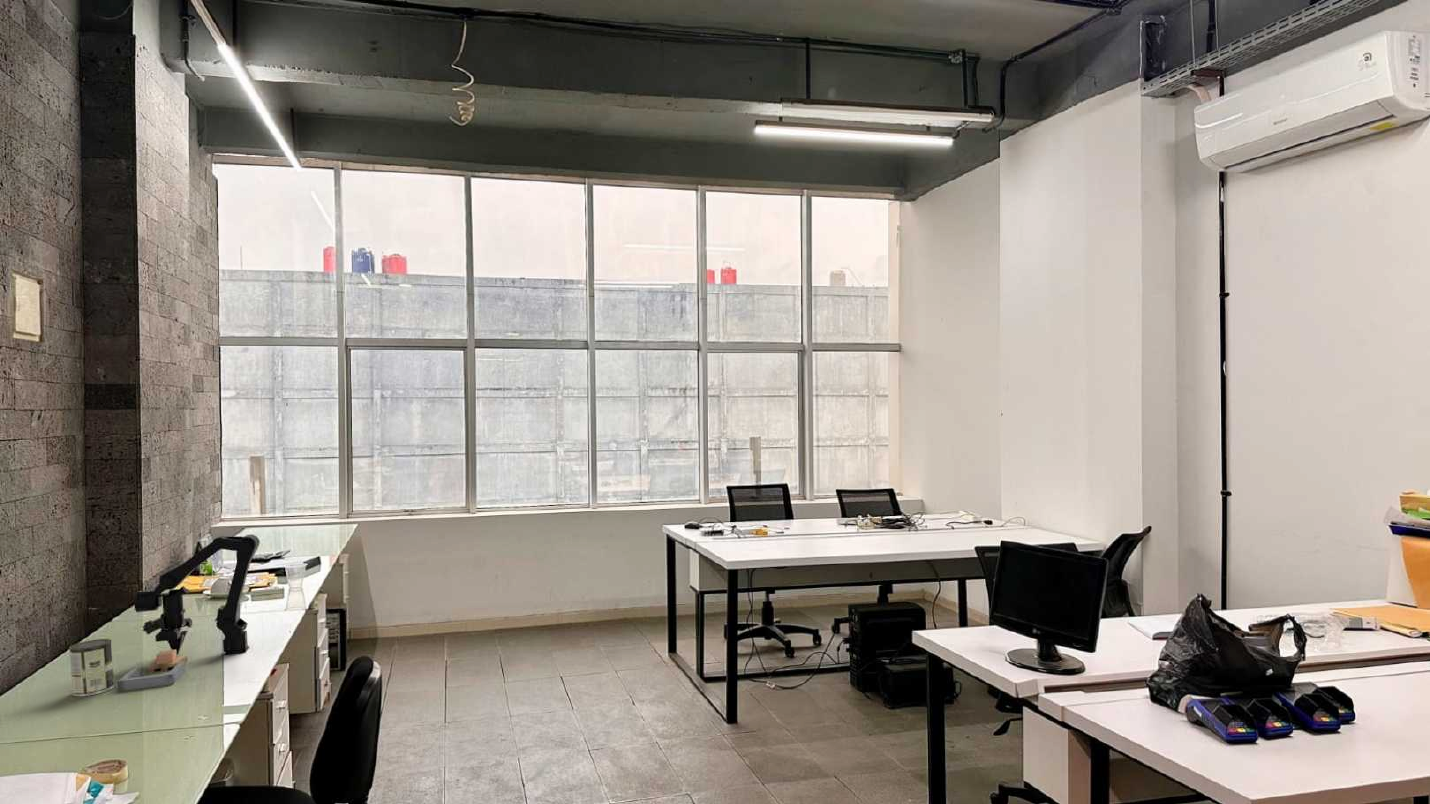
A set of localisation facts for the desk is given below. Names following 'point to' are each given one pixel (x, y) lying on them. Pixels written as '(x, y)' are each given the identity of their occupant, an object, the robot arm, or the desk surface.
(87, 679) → the coffee can
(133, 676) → the dock
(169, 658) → the salmon pink block
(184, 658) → the pallet
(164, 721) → the desk surface
